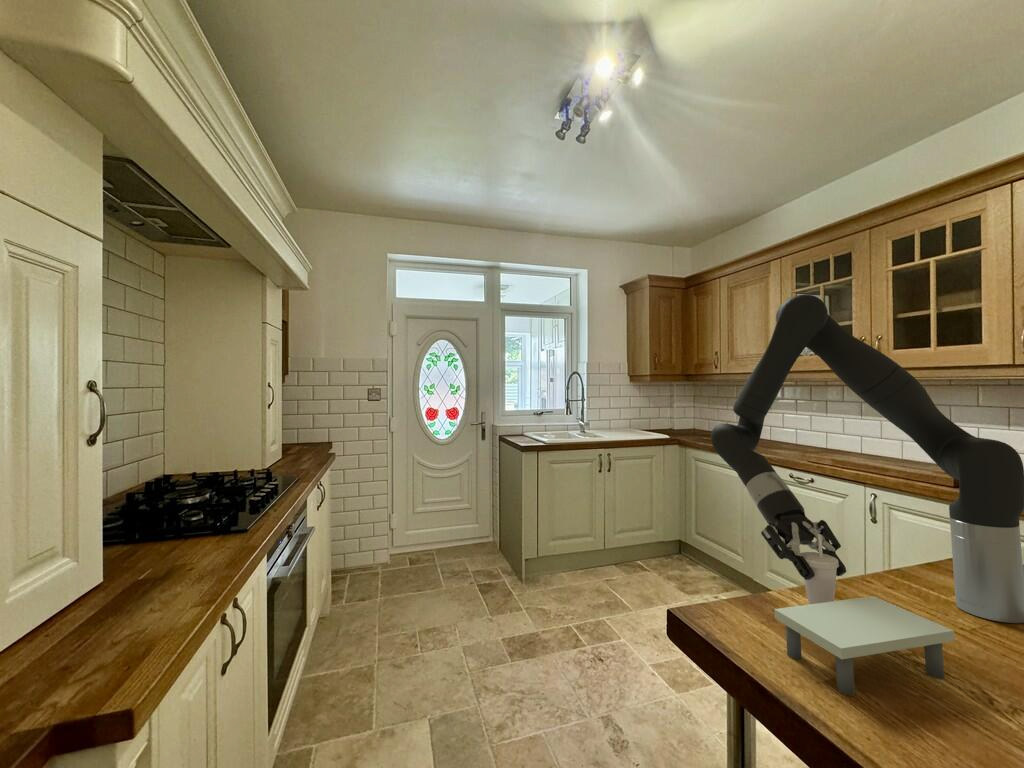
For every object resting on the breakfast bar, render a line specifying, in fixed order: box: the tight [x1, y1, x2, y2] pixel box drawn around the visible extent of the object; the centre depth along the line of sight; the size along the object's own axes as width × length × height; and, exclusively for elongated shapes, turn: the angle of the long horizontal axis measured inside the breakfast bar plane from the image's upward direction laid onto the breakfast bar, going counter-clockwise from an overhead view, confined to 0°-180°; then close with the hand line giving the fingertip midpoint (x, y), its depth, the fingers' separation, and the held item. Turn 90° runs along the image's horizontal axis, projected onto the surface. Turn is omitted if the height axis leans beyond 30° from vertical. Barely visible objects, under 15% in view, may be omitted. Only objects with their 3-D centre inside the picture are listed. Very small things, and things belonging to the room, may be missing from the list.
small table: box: [774, 595, 956, 697], centre depth 69 cm, size 20×12×7 cm, turn 101°
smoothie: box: [800, 534, 839, 605], centre depth 83 cm, size 6×6×14 cm
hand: (826, 575), depth 81 cm, fingers closed on smoothie, 6 cm apart
